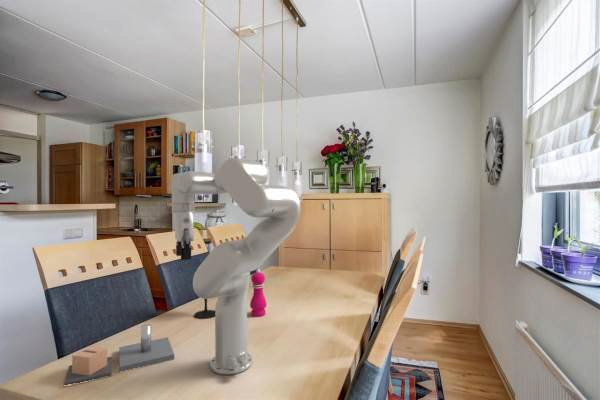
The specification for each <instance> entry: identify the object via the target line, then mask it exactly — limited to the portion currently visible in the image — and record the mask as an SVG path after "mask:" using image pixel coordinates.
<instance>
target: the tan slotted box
mask: <svg viewBox="0 0 600 400" xmlns="http://www.w3.org/2000/svg"><path fill="white" fill-rule="evenodd" d="M107 357H108V347H103V346H102V347H99V346H92V345H91V346H88V347H87V348H84V349H82V350H80V351H78V352H76V353H74V354H72V357H71V358H72V359H71V361H72V362H71V365H72V373H75V374H82V375H88V376H89V375H91V374H93V373H94V372H96V371H98V370H100V369H101V368H103V367H105V366H106V365H107Z"/></svg>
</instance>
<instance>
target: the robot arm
mask: <svg viewBox="0 0 600 400" xmlns="http://www.w3.org/2000/svg"><path fill="white" fill-rule="evenodd" d="M268 179H269V173H268V170H267V168H266V166H264V165H263V164H262V163H261V162H259V161H256V160H250V159H244V158H238V157H237V158H236V157H232V158H228V159H226V160H225V161H224V162H223V163H222V164H221V165H220V166H219V167H217V169H216V171H214V172H206V171H204V172H203V171H194V170H193V171H192V170H188V171H184V172H182V173H181V172H180V173H178V172H177V173H174V174H173V175H172V176H171V213H172V214H175V215H174V235H175V236H174V238H175V240H176V243H175V244H176V245H175V256H177V257H180V260H181V261H187V260H191V259H192V243H191V242H193V241H194V240H195V231H194V229H195V228H194V215H193V214H195V211H196V210H195V208H196V207H195V205H196V203H195V196H196V195H218V194H221V195H222V194H228V195H229V196H230V198H232V199H233V201H234V202H235V203H236V205H237V206H238V207H239V208H240V210H242V212H244V213H245V214H247V215H248V216H249V217H253V218H264V219H263V220H261V221H260V222H259V223H258V224H256V225H255V227H253V229H252V230H251V231H250V232H249V234H247V235H246V236H245V237H244V238H240V239H234V240H228V241H224V242H221V243H219V244H217V245H216V246H215V247H214V248H213V249H211V251H210V252H209V253H208V254H207V256H206V257H205V258H204V259H203V261H202V262H201V264H200V265H199V266H198V268H197V270H196V269H195V270H196V272H195V271H194V275H193V278H192V287H193V288H192V289H193V291H194V293H195V294H196V295H197V296H198V297H199V298H200V299H207V300H210V299H214V298H217V299H216V303H215V306H214V307H215V309H214V310H215V317H214V318H215V319H214V320H215V321H214V323H215V324H214V325H215V327H214V330H215V331H214V333H215V334H214V336H215V338H214V340H215V341H214V342H215V343H214V344H215V346H214V349H215V351H214V352H215V355H214V357H213V358H212V359H211V360H210V363H209V368H210V370H211V371H212V372H213V373H216V374H220V375H227V376H228V375H229V376H230V375H236V374H239V373H241V372H244V371H246V370H248V369H249V368H250V367H251V366H252V364H253V356H252V355H251V354H250V353H248V295H249V293H248V292H249V287H250V281H251V272H254V271H256V270H257V269H259V268H260V267H261V265H263V263H264V262H266V260H268V258H269V257H270V256H271V255H273V252H275V251H276V249H277V248H278V247H279V246H281V244H282V243H283V242H284V241H285V240H286V239H287V238H288V237H289V236H290V235H291V234H292V232H293V231H294V230H295V228H296V227H297V225H298V223H299V219H300V217H301V211H302V210H301V208H302V207H301V201H300V198H299V195H298V194H297V193H296V191H294V190H293V189H292V188H290V187H287V186H284V185H283V186H282V185H273V184H266V183H268Z"/></svg>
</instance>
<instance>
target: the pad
mask: <svg viewBox="0 0 600 400" xmlns="http://www.w3.org/2000/svg"><path fill="white" fill-rule="evenodd" d="M112 369H113V356H107V365H106V366H105V367H103V368H101V369H100V370H98V371H96V372H94V373H93V374H91V375H89V376H88V375H82V374H75V373H72V364H70V365H68V367H67V371H66V373H65V374H66V375H65V378H64V381H63V386H64V385H68V384H73V383H80V382H84V381H88V382H90V381H89V380H92V379H97V378H101V377H105V376H109V377H111V376H110V375H112V372H113V370H112ZM112 376H113V375H112ZM105 378H106V377H105ZM101 379H102V378H101ZM97 380H98V379H97ZM84 383H85V382H84ZM80 384H81V383H80Z"/></svg>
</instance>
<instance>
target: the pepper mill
mask: <svg viewBox="0 0 600 400" xmlns="http://www.w3.org/2000/svg"><path fill="white" fill-rule="evenodd" d="M265 280H266V276H265V274H264V273H262V272H261V270H260V269H259V268H257V269H256V270H255V272H254V273H253V274H252V275H251V277H250V281H251V282H252V289H253V294H252V297H251V300H250V303H249V308H251V310H250V316H252V317H255V318H256V317H257V318H260V317H264V316H265V315H266V307H267V300H266V297H265V296H264V290H263V289H264V286H265V284H264V283H265Z"/></svg>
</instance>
